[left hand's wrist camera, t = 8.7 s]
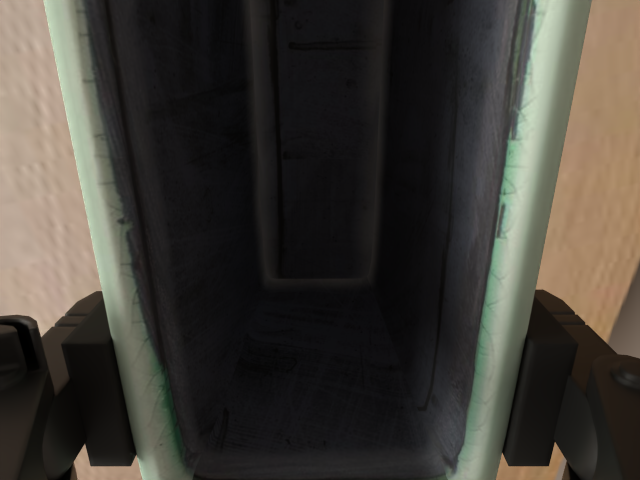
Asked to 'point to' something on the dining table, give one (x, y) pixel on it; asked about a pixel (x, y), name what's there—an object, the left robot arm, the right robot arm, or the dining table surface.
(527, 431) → the left robot arm
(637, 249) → the dining table surface
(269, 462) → the planter
